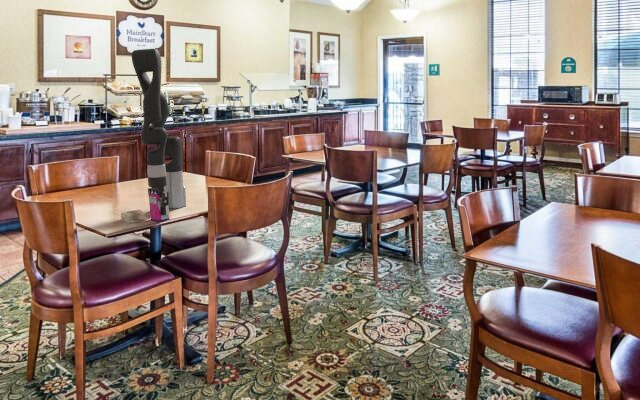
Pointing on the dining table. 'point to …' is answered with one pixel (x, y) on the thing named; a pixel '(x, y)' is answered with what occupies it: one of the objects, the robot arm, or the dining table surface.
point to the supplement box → (157, 209)
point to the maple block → (133, 216)
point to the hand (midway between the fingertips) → (159, 213)
